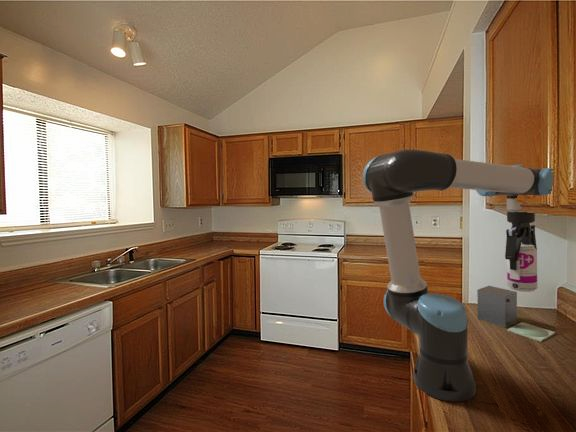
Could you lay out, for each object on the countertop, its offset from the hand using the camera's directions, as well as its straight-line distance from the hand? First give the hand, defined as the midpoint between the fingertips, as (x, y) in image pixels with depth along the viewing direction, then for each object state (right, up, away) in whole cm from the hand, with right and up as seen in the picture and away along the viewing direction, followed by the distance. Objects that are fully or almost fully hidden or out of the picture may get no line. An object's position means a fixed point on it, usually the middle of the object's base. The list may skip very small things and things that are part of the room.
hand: (521, 276), depth 106 cm
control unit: (+1, -20, +14) cm, 24 cm away
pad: (+6, -21, +3) cm, 22 cm away
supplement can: (0, -5, 0) cm, 4 cm away
